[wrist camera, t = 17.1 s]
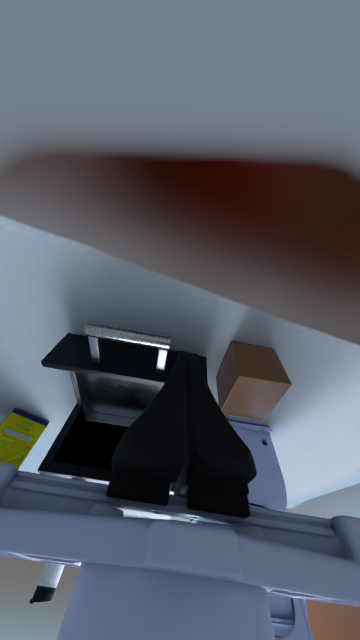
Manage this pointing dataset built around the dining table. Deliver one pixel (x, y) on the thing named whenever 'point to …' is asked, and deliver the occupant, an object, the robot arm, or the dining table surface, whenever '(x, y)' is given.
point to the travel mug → (47, 583)
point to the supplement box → (19, 436)
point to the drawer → (115, 370)
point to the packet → (250, 381)
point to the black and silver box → (86, 454)
